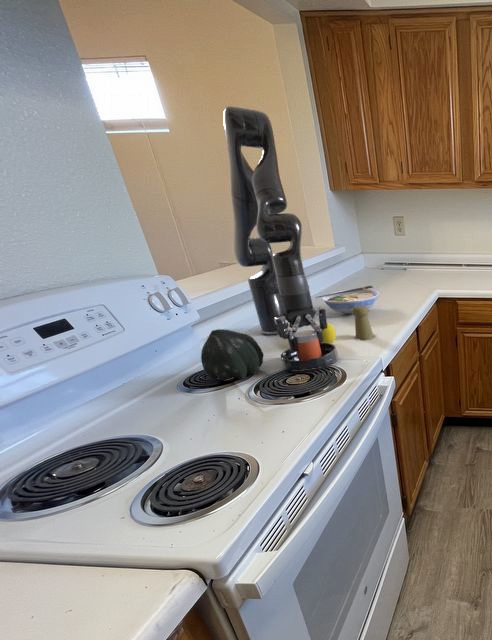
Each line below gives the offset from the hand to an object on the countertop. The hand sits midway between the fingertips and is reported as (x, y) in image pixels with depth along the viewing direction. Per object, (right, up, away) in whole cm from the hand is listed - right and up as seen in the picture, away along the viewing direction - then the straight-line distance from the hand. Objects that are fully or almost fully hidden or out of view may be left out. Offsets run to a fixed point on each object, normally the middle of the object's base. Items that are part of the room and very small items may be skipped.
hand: (307, 347), depth 122 cm
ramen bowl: (-5, +18, +55) cm, 58 cm away
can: (0, -4, +2) cm, 5 cm away
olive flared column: (+9, +5, +24) cm, 26 cm away
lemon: (-1, +2, +17) cm, 17 cm away
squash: (-17, -9, -4) cm, 20 cm away
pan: (0, -5, +2) cm, 5 cm away
